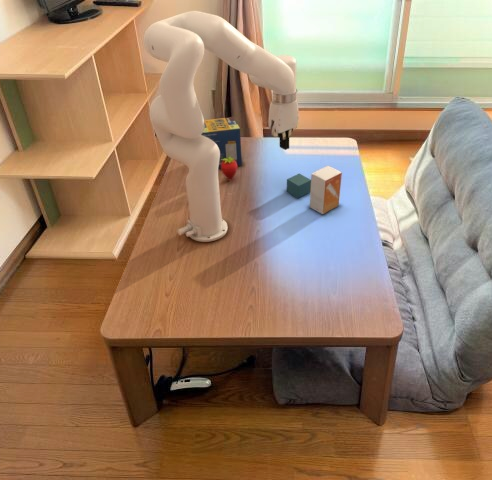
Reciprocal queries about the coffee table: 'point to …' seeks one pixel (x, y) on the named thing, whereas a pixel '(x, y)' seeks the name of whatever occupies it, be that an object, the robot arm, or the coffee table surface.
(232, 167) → the strawberry
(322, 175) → the small box
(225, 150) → the protein box
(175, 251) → the coffee table surface
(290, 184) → the teal block
